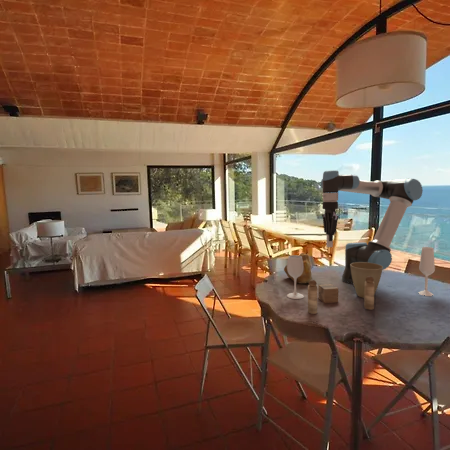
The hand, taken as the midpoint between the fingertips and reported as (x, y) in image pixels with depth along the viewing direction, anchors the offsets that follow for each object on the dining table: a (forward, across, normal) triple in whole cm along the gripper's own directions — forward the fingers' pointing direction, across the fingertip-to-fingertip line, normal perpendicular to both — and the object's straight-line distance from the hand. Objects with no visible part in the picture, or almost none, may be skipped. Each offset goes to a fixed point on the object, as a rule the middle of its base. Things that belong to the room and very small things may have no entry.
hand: (329, 246), depth 155 cm
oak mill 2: (+25, +22, +8) cm, 34 cm away
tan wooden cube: (+25, +8, -5) cm, 27 cm away
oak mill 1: (+25, +21, -19) cm, 38 cm away
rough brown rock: (+25, -29, -5) cm, 39 cm away
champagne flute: (+25, +12, +47) cm, 54 cm away
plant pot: (+25, +7, +16) cm, 31 cm away
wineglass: (+25, 0, -18) cm, 31 cm away
